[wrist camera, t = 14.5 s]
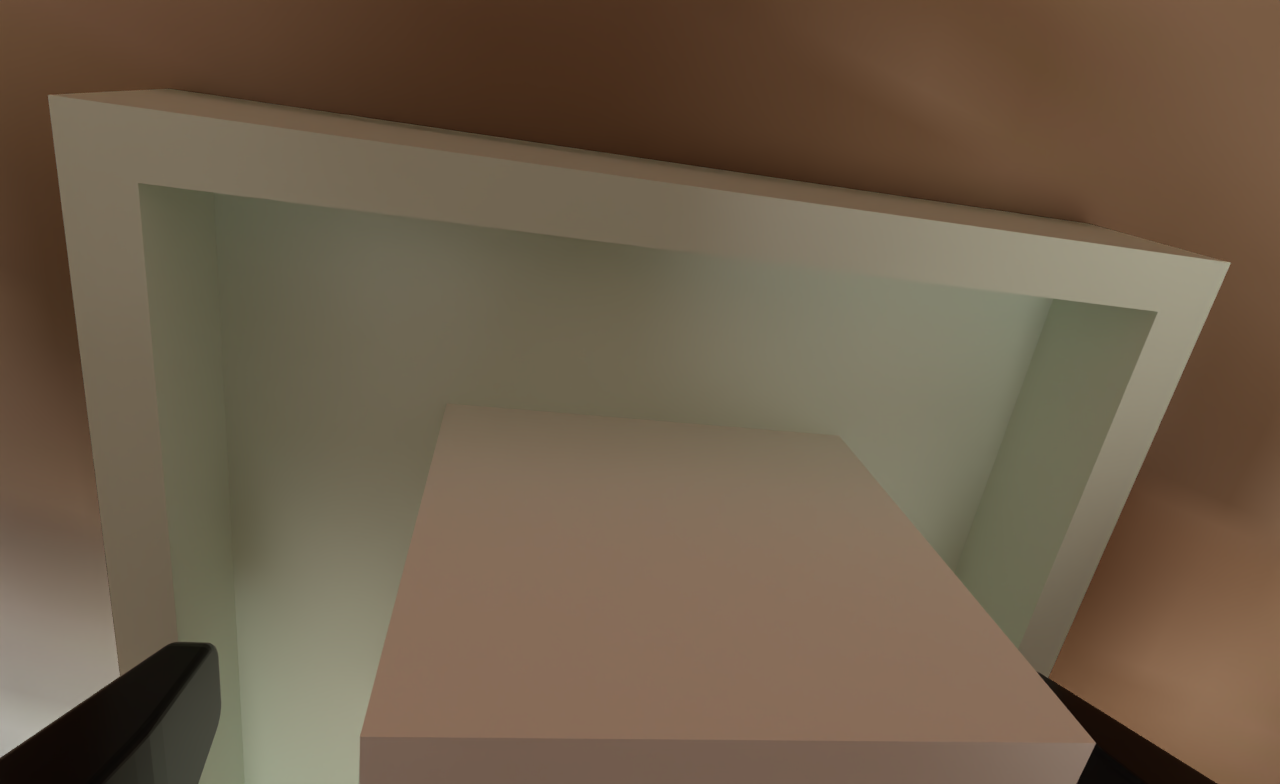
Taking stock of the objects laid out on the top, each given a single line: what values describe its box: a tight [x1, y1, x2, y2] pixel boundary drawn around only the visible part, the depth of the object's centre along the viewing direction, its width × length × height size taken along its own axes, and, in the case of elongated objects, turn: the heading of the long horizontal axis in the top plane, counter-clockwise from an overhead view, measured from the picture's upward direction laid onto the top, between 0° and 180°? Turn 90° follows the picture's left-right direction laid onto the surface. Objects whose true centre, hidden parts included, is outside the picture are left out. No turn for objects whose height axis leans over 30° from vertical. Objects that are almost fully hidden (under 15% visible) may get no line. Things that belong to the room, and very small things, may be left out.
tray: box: [48, 89, 1231, 784], centre depth 10 cm, size 11×11×2 cm
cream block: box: [359, 403, 1096, 784], centre depth 8 cm, size 5×5×5 cm
